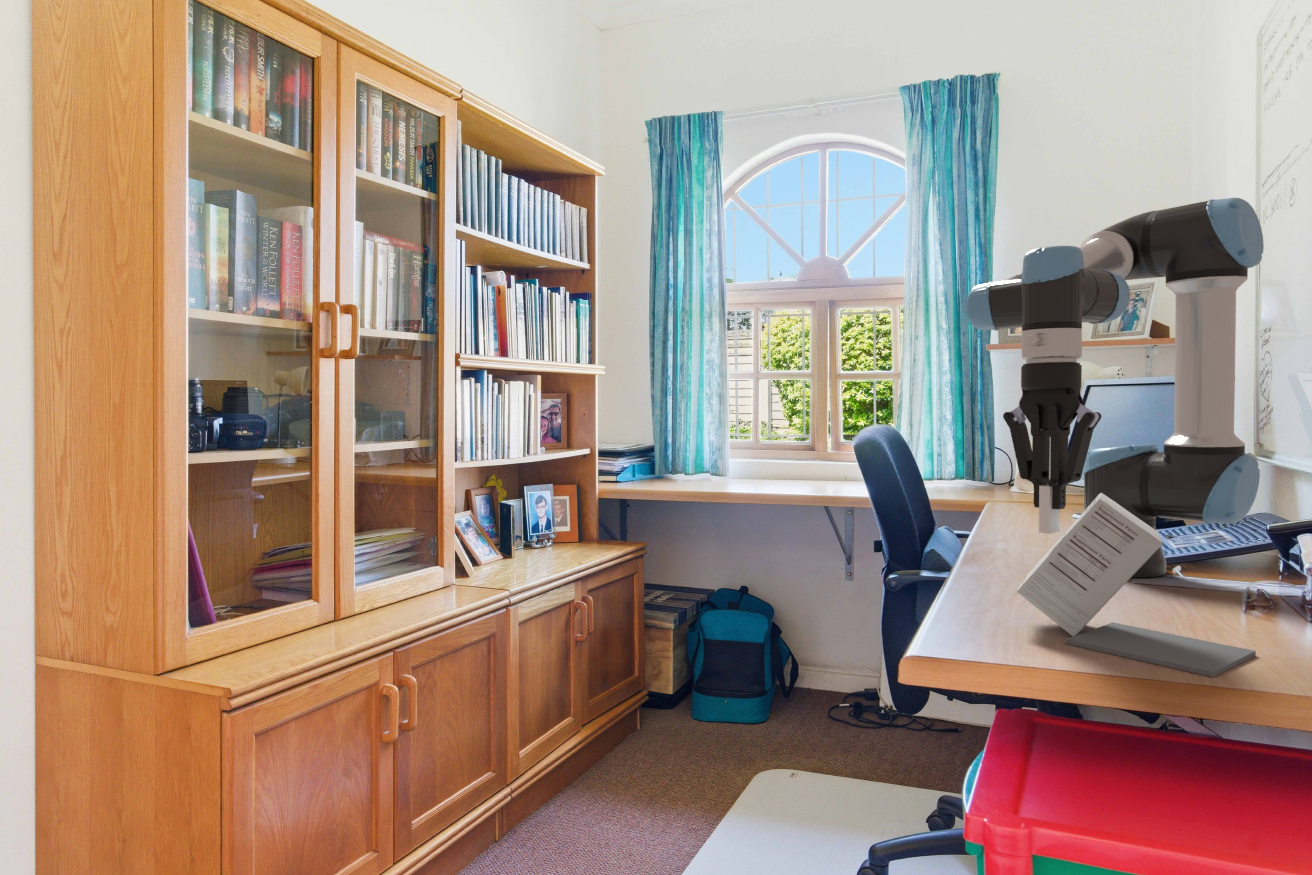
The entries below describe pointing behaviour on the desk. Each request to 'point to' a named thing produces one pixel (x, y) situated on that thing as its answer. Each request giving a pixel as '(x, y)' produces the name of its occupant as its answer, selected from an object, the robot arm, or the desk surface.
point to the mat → (1163, 648)
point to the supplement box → (1089, 564)
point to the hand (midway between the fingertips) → (1049, 531)
